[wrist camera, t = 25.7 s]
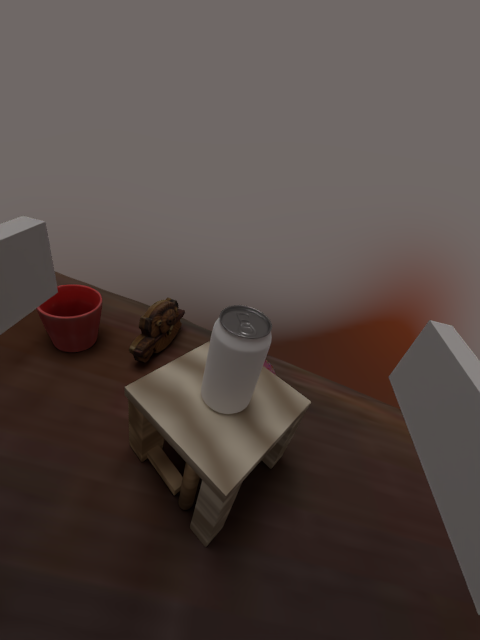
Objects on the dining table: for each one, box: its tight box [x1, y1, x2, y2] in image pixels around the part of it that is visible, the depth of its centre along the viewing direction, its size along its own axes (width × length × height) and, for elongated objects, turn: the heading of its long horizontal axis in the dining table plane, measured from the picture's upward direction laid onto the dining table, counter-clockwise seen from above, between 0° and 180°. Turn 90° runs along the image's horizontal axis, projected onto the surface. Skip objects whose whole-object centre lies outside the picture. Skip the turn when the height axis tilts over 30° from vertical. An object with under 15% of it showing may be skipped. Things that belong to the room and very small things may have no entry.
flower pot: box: [36, 285, 102, 352], centre depth 56 cm, size 11×11×10 cm
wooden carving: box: [129, 298, 185, 363], centre depth 60 cm, size 16×5×10 cm, turn 163°
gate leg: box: [128, 399, 200, 510], centre depth 39 cm, size 13×4×12 cm, turn 45°
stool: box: [125, 341, 311, 547], centre depth 42 cm, size 17×17×14 cm
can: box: [201, 305, 272, 414], centre depth 34 cm, size 6×6×12 cm
